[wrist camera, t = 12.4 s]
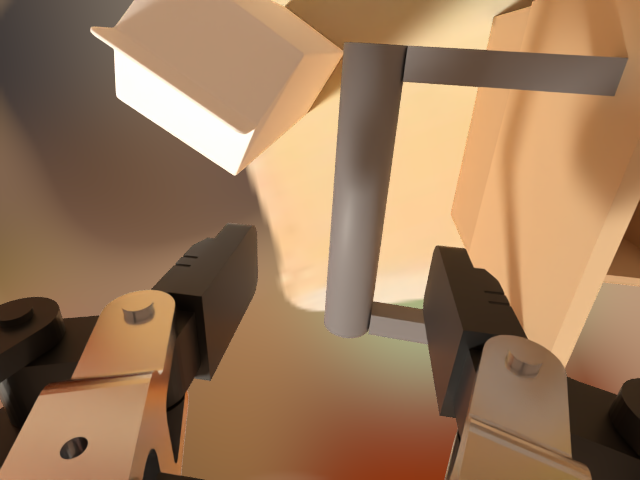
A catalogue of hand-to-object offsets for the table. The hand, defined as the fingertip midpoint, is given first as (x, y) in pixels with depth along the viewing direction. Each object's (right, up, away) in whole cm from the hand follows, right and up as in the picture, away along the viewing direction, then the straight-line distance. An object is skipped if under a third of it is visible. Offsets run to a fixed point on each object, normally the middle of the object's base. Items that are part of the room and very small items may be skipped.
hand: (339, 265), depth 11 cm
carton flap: (+9, +3, +7) cm, 12 cm away
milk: (-3, +16, +22) cm, 27 cm away
